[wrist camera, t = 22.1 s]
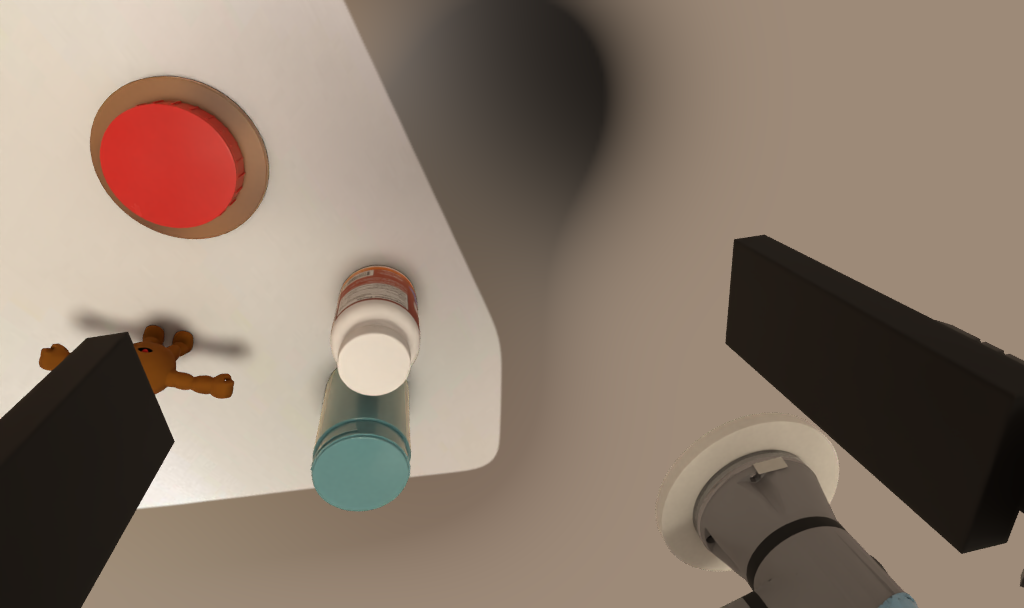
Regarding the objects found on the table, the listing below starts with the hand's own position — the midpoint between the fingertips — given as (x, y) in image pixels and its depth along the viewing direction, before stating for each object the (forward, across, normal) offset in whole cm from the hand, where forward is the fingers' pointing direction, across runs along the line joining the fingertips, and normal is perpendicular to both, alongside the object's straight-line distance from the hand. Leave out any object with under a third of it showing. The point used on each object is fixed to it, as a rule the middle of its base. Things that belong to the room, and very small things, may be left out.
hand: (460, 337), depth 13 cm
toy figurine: (+33, -21, -13) cm, 41 cm away
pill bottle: (+33, -5, -12) cm, 36 cm away
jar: (+33, -8, -21) cm, 40 cm away
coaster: (+33, -16, 0) cm, 36 cm away
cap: (+30, -16, 0) cm, 34 cm away
